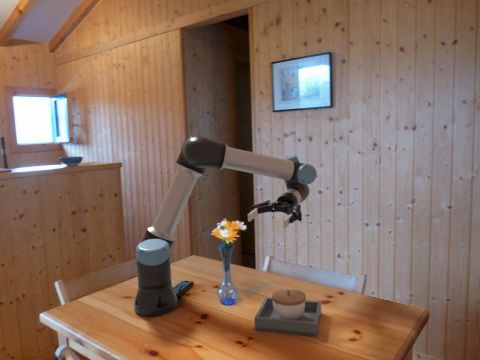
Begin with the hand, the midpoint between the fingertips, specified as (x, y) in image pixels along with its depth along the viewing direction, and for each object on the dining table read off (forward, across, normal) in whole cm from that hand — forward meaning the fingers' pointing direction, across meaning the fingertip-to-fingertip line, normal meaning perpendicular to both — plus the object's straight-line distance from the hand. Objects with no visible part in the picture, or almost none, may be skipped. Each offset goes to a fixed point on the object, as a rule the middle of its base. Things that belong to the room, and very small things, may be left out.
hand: (266, 221), depth 136 cm
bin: (+14, -14, -27) cm, 33 cm away
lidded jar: (+13, -14, -26) cm, 33 cm away
